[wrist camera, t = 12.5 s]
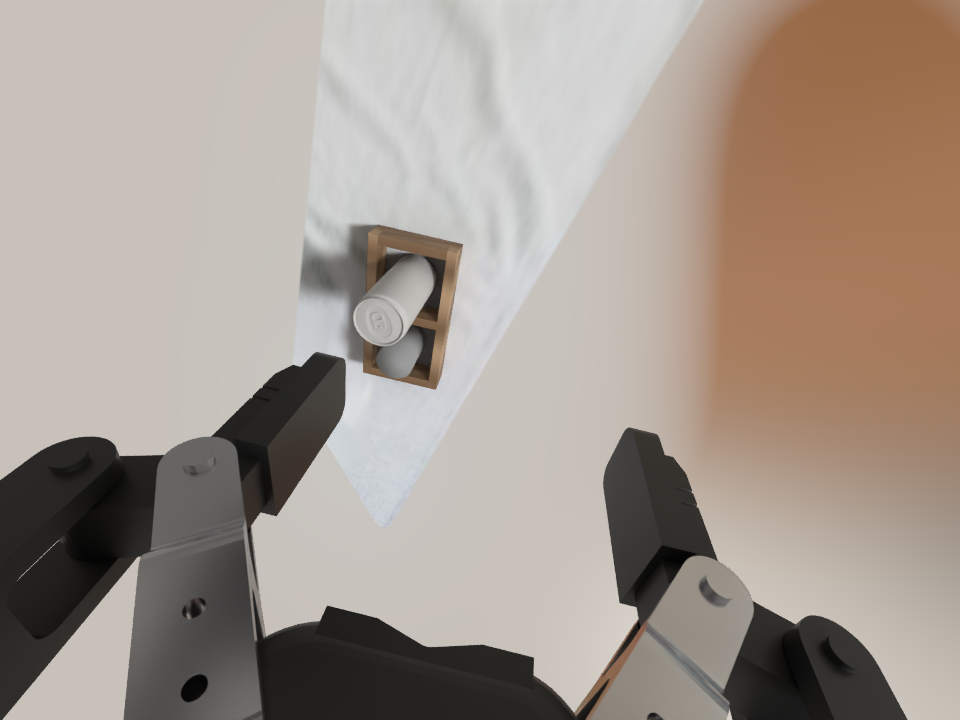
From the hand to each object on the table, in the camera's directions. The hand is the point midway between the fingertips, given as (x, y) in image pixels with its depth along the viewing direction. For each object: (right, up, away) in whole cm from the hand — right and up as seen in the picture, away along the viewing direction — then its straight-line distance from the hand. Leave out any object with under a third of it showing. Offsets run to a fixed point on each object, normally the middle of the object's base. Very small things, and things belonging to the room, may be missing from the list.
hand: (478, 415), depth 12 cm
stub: (-8, +4, +38) cm, 39 cm away
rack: (-8, +8, +36) cm, 37 cm away
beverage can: (-7, +11, +34) cm, 36 cm away
